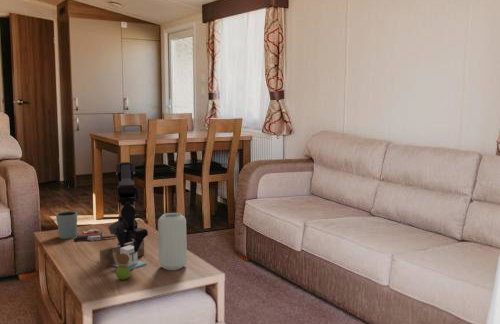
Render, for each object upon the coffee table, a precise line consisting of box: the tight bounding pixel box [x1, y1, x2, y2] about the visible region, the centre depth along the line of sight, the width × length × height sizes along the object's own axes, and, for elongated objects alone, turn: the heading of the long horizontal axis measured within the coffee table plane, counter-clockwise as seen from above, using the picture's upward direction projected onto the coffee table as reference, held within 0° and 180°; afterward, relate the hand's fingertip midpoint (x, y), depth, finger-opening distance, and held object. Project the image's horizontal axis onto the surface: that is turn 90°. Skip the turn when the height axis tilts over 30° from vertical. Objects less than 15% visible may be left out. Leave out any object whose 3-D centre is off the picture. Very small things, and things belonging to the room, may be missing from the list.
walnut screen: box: [99, 238, 145, 268], centre depth 218 cm, size 22×2×7 cm, turn 141°
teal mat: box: [111, 260, 147, 271], centre depth 213 cm, size 10×10×1 cm
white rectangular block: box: [120, 245, 139, 266], centre depth 212 cm, size 5×5×7 cm
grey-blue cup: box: [55, 210, 78, 240], centre depth 254 cm, size 10×10×12 cm
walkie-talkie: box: [73, 228, 117, 242], centre depth 252 cm, size 9×4×20 cm
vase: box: [157, 212, 188, 271], centre depth 209 cm, size 12×12×22 cm
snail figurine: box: [112, 249, 131, 281], centre depth 196 cm, size 5×6×12 cm
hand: (129, 250), depth 212 cm, fingers open, 9 cm apart
